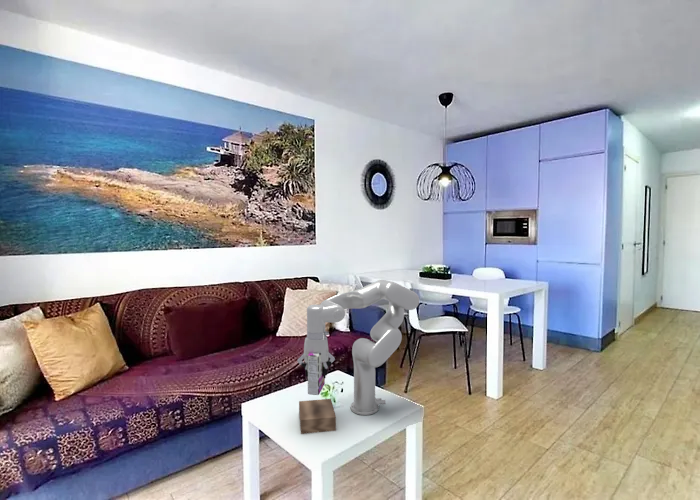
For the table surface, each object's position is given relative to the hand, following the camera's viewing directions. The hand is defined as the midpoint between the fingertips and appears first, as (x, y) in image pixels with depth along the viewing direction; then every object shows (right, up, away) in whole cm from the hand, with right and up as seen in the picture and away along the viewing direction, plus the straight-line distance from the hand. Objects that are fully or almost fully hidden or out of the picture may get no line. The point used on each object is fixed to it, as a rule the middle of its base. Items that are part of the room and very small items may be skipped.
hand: (316, 377), depth 155 cm
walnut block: (0, -20, +1) cm, 20 cm away
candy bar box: (0, -5, 0) cm, 5 cm away
